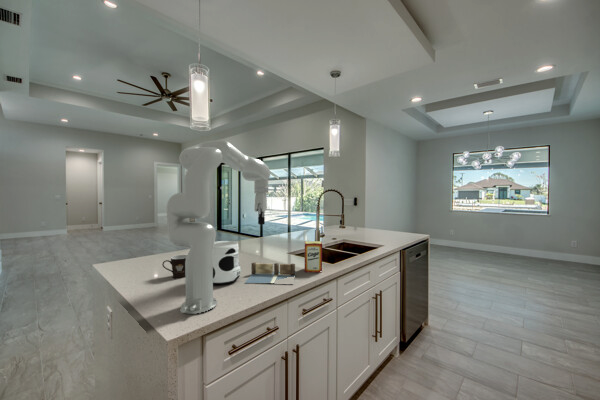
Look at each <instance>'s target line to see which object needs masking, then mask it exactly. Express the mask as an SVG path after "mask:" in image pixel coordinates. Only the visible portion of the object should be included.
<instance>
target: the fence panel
mask: <svg viewBox="0 0 600 400" xmlns="http://www.w3.org/2000/svg"><path fill="white" fill-rule="evenodd" d="M250 270H251V274H256V273H257V274H273V271H274V263H260V262H259V263H257V262H251V269H250Z"/></svg>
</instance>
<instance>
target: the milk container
mask: <svg viewBox="0 0 600 400" xmlns="http://www.w3.org/2000/svg"><path fill="white" fill-rule="evenodd" d="M239 249H240V246H239V242H237V241H234V240H220V241H218V240H217V241H215V243H214V249H213V285H224V284H229V283H233V282H235V281H237V280H238V279H239V278H240V275H241V272H242V271H241V269H242V268H241V264H240V260H239V259H240V255H239V254H240V250H239Z"/></svg>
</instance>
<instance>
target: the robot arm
mask: <svg viewBox="0 0 600 400" xmlns="http://www.w3.org/2000/svg"><path fill="white" fill-rule="evenodd" d="M178 161H179V164H180V166H181V167H182V168H183V169H184V170H186V172H185V176H184V180H183V183H184V185H183V187H184V188H183V192H177V193H175V194H173V195H171V196H170V198H169V199H168V201H167V204H166V221H167V235H168V238H169V241H170V242H171V243H172V244H173V245H175V246H179V247H188V248H190V249H189V251H188V253H187V254H186V255H187V257H186V261H185V277H184V278H185V291H184V292H185V301H183V302H182V304H181V305H180V310H179V311H180V313H182V314H189V315H197V313H199V314H202V313H201V312H204V313H206V312H205V311H207V312H209V311H208V310H210V309H212V308H213V309H214V307H215V306H216V305H218V300H217V298H215V297H214V284H213V249H214V243H215V242H216V238H217V237H216V236H217V233H216V229H215V227H214V226H213V225H212V224H210V223H208V222H206V221H205V222H204V221H190V219H195V220H196V219H204V218H206V217H208V216H209V214H210V211H211V199H210V198H211V196H210V181H211V176H212V175H213V173H214V172H215V170H216V169H217V168H218V167H219V166H220V165H221V163H223V164H225V165H227V166H228V167H229V168H230V169H232V170H234V171H237V172H241V175H242V177H243V179H244V180H246V181H248V182H254V185H253V186H254V188H253V189H254V190H253V191H254V194H255V196H254V212H256V213H257V216H258V217H257V220H258V221H257V225H265V223H266V221H265V220H266V219H265V212H266V211H267V210H268V209H267V208H268V207H267V205H268V202H267V201H268V197H267V196H268V195H267V194H269V178H270V177H271V170H270V168H269V166H268V165H267V164H266V163H265V162H263V161H262V160H260V159H258V158H256V157H252V156H251V155H248V154H244V153H243V152H241V151H240V150H239V149H238V148H237V147H235V146H234V145H233V144H232V142H230V141H228V140H225V139H218V140H217V139H216V140H207V141H203V142H200V143H198V144H194V145H193V146H189V147H186V148H185V149H183V150H182V151H181V152H180V154H179V156H178ZM216 307H217V306H216ZM216 307H215V308H216ZM213 309H212V310H213ZM210 311H211V310H210Z"/></svg>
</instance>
